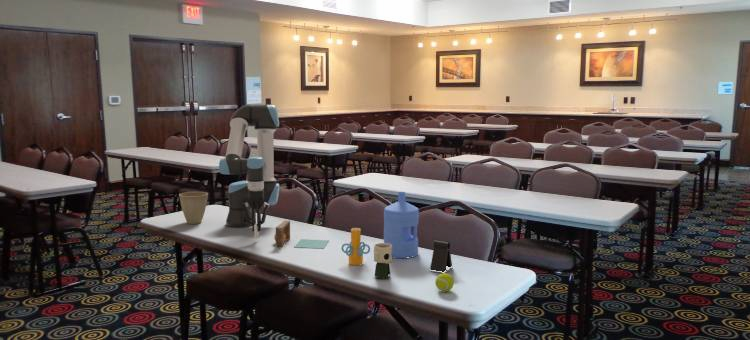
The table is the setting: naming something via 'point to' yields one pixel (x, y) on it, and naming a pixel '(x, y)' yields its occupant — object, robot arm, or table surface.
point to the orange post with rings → (355, 247)
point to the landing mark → (311, 244)
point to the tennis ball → (444, 282)
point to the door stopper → (441, 256)
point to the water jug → (401, 227)
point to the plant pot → (193, 206)
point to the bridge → (281, 229)
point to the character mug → (382, 259)
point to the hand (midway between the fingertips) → (256, 237)
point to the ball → (283, 237)
